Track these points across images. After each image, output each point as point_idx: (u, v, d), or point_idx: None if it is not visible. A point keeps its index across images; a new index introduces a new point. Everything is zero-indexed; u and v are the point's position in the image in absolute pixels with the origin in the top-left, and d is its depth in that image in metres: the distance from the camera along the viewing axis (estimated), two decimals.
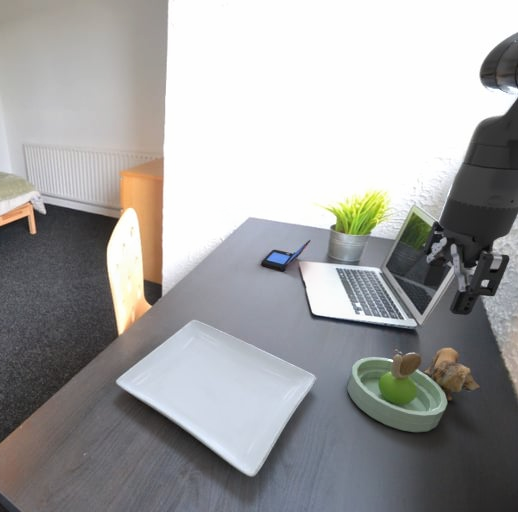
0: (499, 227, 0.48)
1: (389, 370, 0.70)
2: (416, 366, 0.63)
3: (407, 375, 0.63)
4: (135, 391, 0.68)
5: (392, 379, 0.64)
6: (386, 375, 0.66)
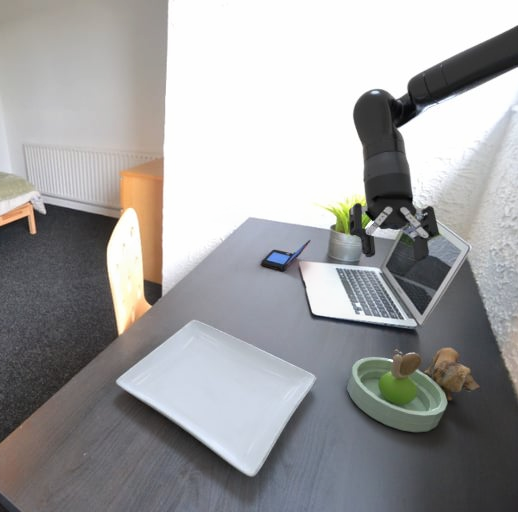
0: (370, 191, 0.72)
1: (389, 370, 0.70)
2: (416, 366, 0.63)
3: (407, 375, 0.63)
4: (135, 391, 0.68)
5: (392, 379, 0.64)
6: (386, 375, 0.66)
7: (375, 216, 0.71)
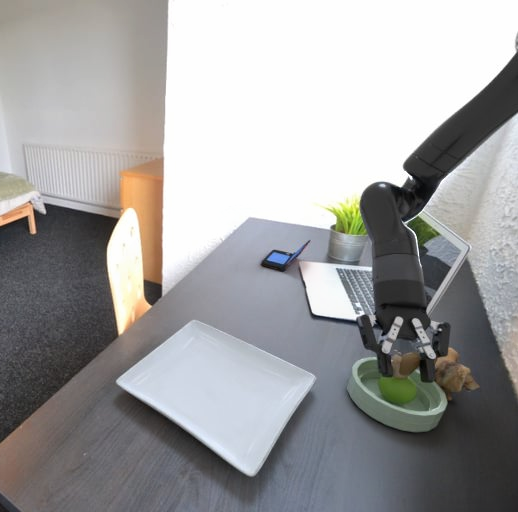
0: (378, 296, 0.66)
1: None
2: (415, 366, 0.63)
3: (406, 374, 0.63)
4: (135, 391, 0.68)
5: (392, 379, 0.64)
6: None
7: (384, 325, 0.65)
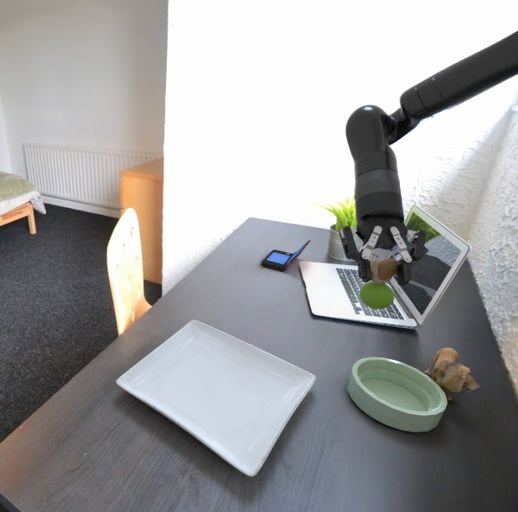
0: (359, 210, 0.71)
1: (389, 370, 0.70)
2: (393, 271, 0.67)
3: (385, 280, 0.68)
4: (135, 391, 0.68)
5: (371, 285, 0.69)
6: (366, 283, 0.70)
7: (364, 235, 0.69)
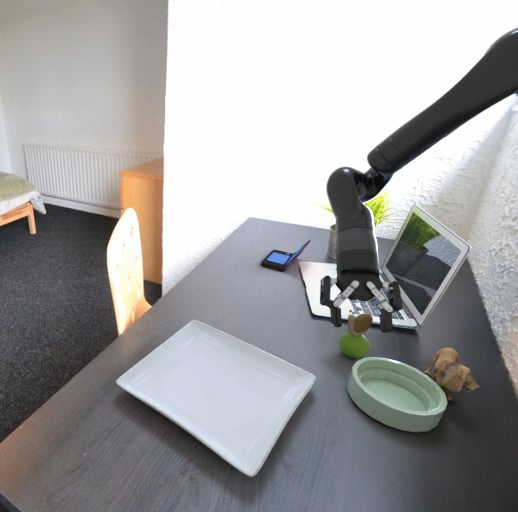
0: (339, 264, 0.77)
1: (389, 370, 0.70)
2: (368, 324, 0.74)
3: (361, 332, 0.75)
4: (135, 391, 0.68)
5: (349, 336, 0.76)
6: (344, 334, 0.77)
7: (343, 288, 0.76)
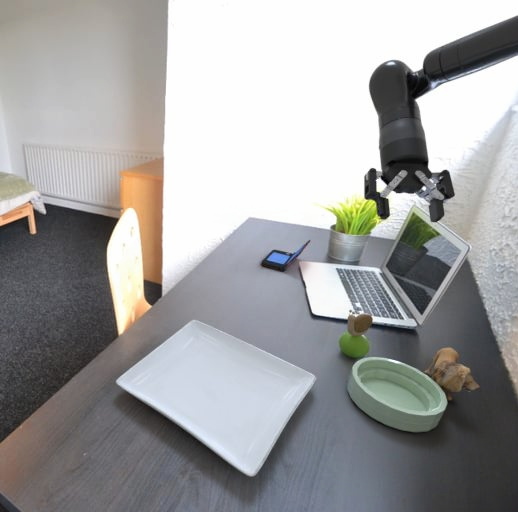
0: (385, 157, 0.74)
1: (389, 370, 0.70)
2: (368, 324, 0.74)
3: (361, 332, 0.75)
4: (135, 391, 0.68)
5: (349, 336, 0.76)
6: (345, 334, 0.77)
7: (390, 180, 0.72)
